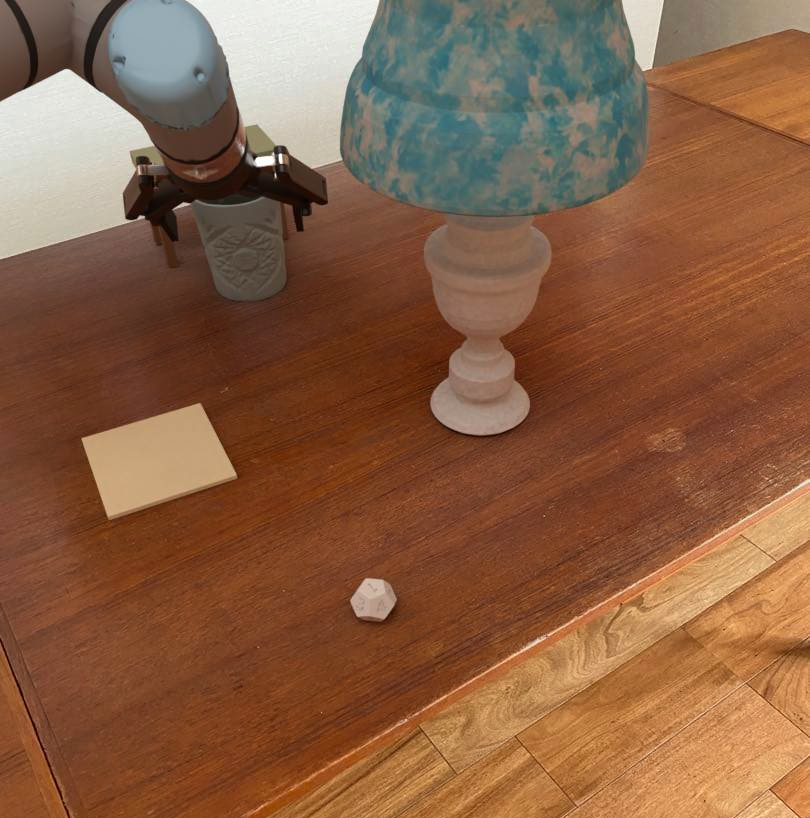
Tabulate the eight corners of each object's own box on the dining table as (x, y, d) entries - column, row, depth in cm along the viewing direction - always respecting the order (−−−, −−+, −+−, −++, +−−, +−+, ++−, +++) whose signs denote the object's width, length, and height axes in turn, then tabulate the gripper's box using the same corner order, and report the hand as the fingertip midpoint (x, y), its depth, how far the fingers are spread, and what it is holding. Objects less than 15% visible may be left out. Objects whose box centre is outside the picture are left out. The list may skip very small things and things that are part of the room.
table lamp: (499, 528, 75) (541, 8, 46) (311, 414, 86) (247, -62, 57) (647, 398, 87) (756, -83, 57) (464, 313, 98) (477, -126, 69)
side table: (152, 241, 111) (129, 150, 103) (270, 212, 116) (257, 124, 107) (168, 269, 106) (145, 177, 98) (290, 239, 111) (278, 148, 102)
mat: (82, 441, 84) (81, 438, 84) (201, 406, 88) (200, 402, 87) (109, 520, 77) (107, 516, 77) (237, 478, 80) (237, 474, 80)
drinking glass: (255, 314, 99) (237, 214, 90) (189, 290, 103) (166, 192, 94) (309, 273, 105) (297, 176, 96) (244, 252, 109) (227, 156, 100)
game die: (383, 588, 71) (381, 563, 69) (404, 619, 69) (403, 595, 66) (344, 604, 70) (341, 580, 68) (365, 636, 68) (362, 613, 65)
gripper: (57, 197, 73) (125, 268, 94) (353, 175, 74) (354, 249, 95) (47, 106, 72) (117, 198, 94) (344, 86, 74) (347, 180, 95)
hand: (237, 224), depth 94 cm, fingers open, 13 cm apart
